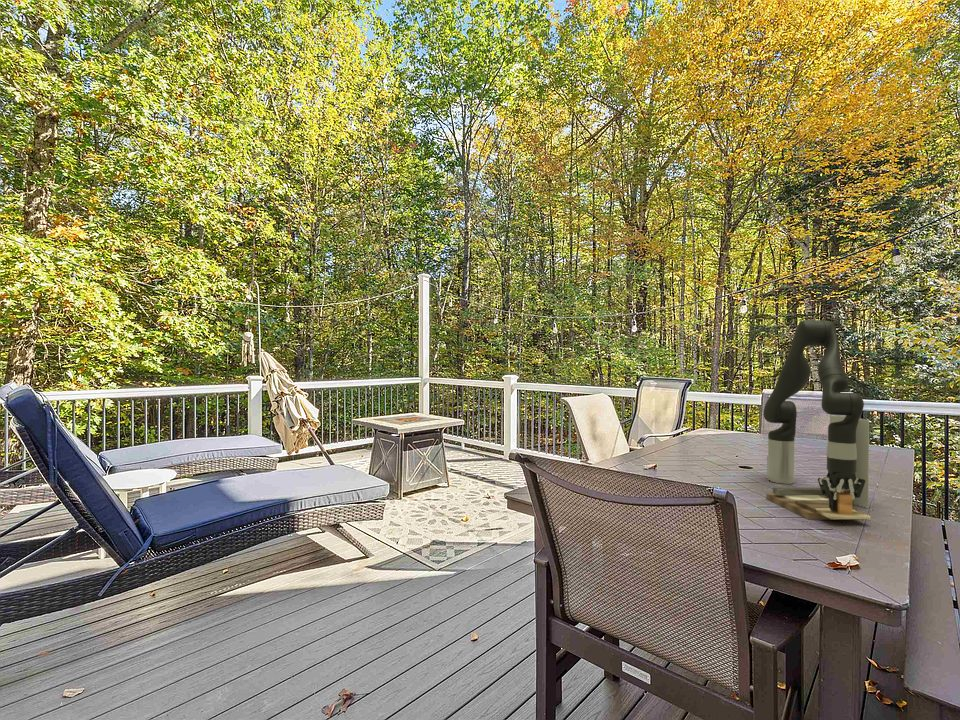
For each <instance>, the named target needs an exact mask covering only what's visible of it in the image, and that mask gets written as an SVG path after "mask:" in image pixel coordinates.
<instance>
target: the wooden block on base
mask: <svg viewBox="0 0 960 720" xmlns="http://www.w3.org/2000/svg"><path fill="white" fill-rule="evenodd" d="M836 500H838V511H837V512H834V511H832V510H831V509H830V508H815V509H816V512H817V513H819V514H821V515H824V516H826V517H828V518H830V519H829V520H871V516H870V515H868V514H866V513H864V512H863V513H864V514H863V513H861V512H862V511H861V512H858V511H859V510H858V511H856V510H852V506H853V507H854V504H853V495H851V494H848V493H846V492H843V491H840V493H839V494H838V497H837V499H836Z"/></svg>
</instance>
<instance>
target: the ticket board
mask: <svg viewBox="0 0 960 720" xmlns="http://www.w3.org/2000/svg"><path fill="white" fill-rule="evenodd" d="M772 491H773V492H772V493H770V492H766V494H765V499H766V500H768V501H769V502H772V503H774V504H776V505H778V506H780V507H782V508H784V509H786V510H788V511H790V512H792V513H794V514H797V515H798V516H800V517H802V518H804V519H806V520H831V519H830V518H828V517H826V516H824V515H821V514H819V513H817V512H816V509H815V508H829V498H828V497H826V496H823V495H822V492H821V489H820V487H818V486H814V487H810V486H809V487H807V486H805V487H800V486H799V487H796V486H795V487H791V486H790V487H782V486H781V487H773V489H772ZM853 510H856V511H858V512H861V513H863V514H865V512H863V511H860V510H858V509H857V508H855V507H854V506H853Z"/></svg>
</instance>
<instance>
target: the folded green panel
mask: <svg viewBox="0 0 960 720" xmlns="http://www.w3.org/2000/svg"><path fill="white" fill-rule="evenodd" d="M845 417H846V416H842V415H830V414H829V424H830V423H833V422H840V421H843V420H844V419H845ZM856 448H857V472H856V473H855V475H856V477H858V478H861V479H864V480H865V484H864V487H863V490H862V493H861V496H860V497H859V498H858V497H857V498H855V499H854V501H853V505H856V506H858V505H859V507H861V506H862V507H861V508H864V507H865V509H867V508H868V509H869V494H870V493H869V489H870V487H869V485H870V484H869V482H870V477H869V474H870V473H869V472H870V468H869V466H870V420H868V419H864V418H860V419H859V422H858V425H857V429H856ZM829 485H830V482H829V484H828V486H829ZM853 485H854V483H853ZM834 489H836V488H834ZM841 491H843V490H842V489H841ZM843 492H844V491H843ZM856 492H857V491H856Z"/></svg>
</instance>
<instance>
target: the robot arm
mask: <svg viewBox="0 0 960 720" xmlns="http://www.w3.org/2000/svg"><path fill="white" fill-rule="evenodd" d="M836 329H837V328H836V326H835V324H834V323H833V321H830V320H822V319H804V320H801V321H800V322H799V323H798V324H797V327H796V329H795V332H794V335H793V339H792V342H791V346H790V349H789V351H788V354H787V357H786V360H785V362H784V364H783V366H782V367H781V368H782V369H781V371H780V372H779V376H778V377H777V378H778V379H777V381H776V383H775V386H774V388H773V390H772V391H771V394H770V395H769V397H768V398H767V401H766V403H765V405H764V407H763V418H764V420H765V421H766V422H768V423H771V424H781V426H780V427H779V428H776V429H773V430H771V431H769V432H768V435H767V440H768V443H767V448H768V449H767V454H768V455H767V457H766V479H767V480H768V481H769V480H770V481H769V482H773V483H776V484H785V485H787V484H788V485H789V484H794V483H795V440H796V439H795V437H796V431H797V430H796V428H797V427H796V426H797V415H798V413H797V406H796V403H794V401H791V400H788V399H789V398H791V397H793V396H794V395H796V394H797V393H798V392H800V391H801V390H802V389H804V387H805V386H806V385H807V383H808V381H809V379H810V377H811V373H812V372H811V371H812V370H811V366H810V364H809V362H808V361H807V358H806V356H805V354H804V351H805V348H806V347H823V348H824V349H825V353H824V355H823V357H822V358H821V359H820V362H819V363H818V366H817V374H818V378H819V381H820V384H821V390H822V391H821V392H822V395H821V396H822V397H821V408H822V410H823V411H824V412H825V413H826V414H827V415H829V416H830V415H834V416H844V417H845V419H844V420H843V421H840V422H833V423H830V422H829V424H828V426H827V427H828V428H827V444H826V445H827V446H826V469H827V474H826V476H824V477H818V478H817V482H818V485H819V488H820V489H821V492H822V495H821V496H823V497H826V498H828V499H829V508H830V509H831V510H832V511H834V512H837V511H838V500H836V499H837V497H838V494H839V493H840V491H841V489H842V490H843V491H844V492H846V493H848V494H851V495H853V501H854V499H855V498H857V497H858V498H859V497H860V496H861V493H862V490H863V487H864V484H865V480H864V479H861V478H858V477H856V475H855V473H856V472H857V448H856V429H857V425H858V422H859V419H861V416H862V414H863V410H864V408H865V401H864V399H863V397H862V396H861V395H860V394H859V393H855V392H845V391H846V390H847V389H848V388H849V380H848V378H847V374H846V373H845V370H844V368H843V365H842V364H843V363H842V360H841V351H840V344H839V340H838V334H837V330H836ZM829 482H830V485H829ZM853 483H854V485H853ZM834 488H836V489H834ZM856 491H857V492H856ZM853 507H854V505H853V506H852V510H853Z"/></svg>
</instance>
